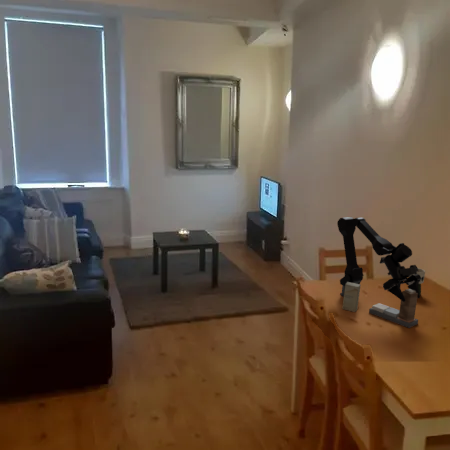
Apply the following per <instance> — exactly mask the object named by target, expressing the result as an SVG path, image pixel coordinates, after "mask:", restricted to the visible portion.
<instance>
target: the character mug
mask: <svg viewBox="0 0 450 450" xmlns="http://www.w3.org/2000/svg"><path fill="white" fill-rule="evenodd" d="M417 268H418V272H417V274H419V275H420V276H421V278H422V279H421V280H420V282H419V284H418V289H419V295H420V296H421V295H422V284H423V283H424V281H425V276H426V275H425V274H426V270H425V269H422V268H419V267H417ZM413 275H414V274H413ZM410 276H411V275H410ZM410 276H409V277H410Z"/></svg>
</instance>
